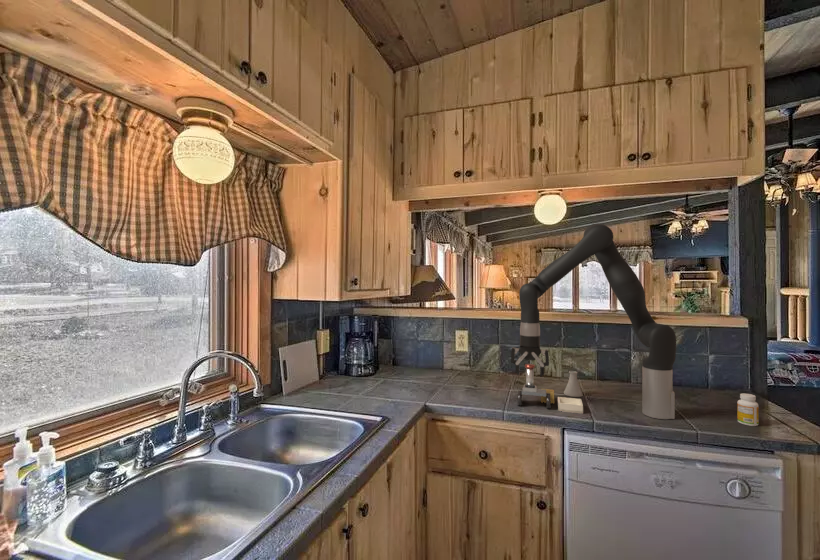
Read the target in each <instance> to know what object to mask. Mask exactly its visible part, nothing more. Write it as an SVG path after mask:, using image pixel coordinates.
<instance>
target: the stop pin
mask: <svg viewBox="0 0 820 560" xmlns="http://www.w3.org/2000/svg"><path fill="white" fill-rule="evenodd" d="M524 368H525V373H526V374H525V377H526V378H525V379H526V381H525V384H526V388H534V385H535V384H534V383H535V382H534V381H535V378H534V376H535V375H534V369H535V368H536V367H535V364H534V363H533V364H532V363H525V364H524Z"/></svg>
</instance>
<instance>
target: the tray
mask: <svg viewBox="0 0 820 560" xmlns="http://www.w3.org/2000/svg"><path fill="white" fill-rule="evenodd" d="M557 411H558V412H561V411H562V412H564V413H570V414H571V413H573V414H584V405H583V401H582V398H577V397H565V396H557Z"/></svg>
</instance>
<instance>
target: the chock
mask: <svg viewBox="0 0 820 560" xmlns="http://www.w3.org/2000/svg"><path fill="white" fill-rule="evenodd" d="M544 389H545V390H546V393H550V399H551V404H552V403H553V405H554V404H555V389H549V388H548V389H547V388H544ZM543 402H544V404H546V397H545V396H540V403H543Z"/></svg>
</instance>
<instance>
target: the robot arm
mask: <svg viewBox="0 0 820 560" xmlns="http://www.w3.org/2000/svg"><path fill="white" fill-rule="evenodd" d="M593 256H595V257H596V259H597V261H598V262H599V264H600V266H601V268H602V271H603V273H604V276H605V278H606V280H607V282H608V284H609V286H610V289H611V290H612V291H613V294H614V295H615V296H616V298H617V300H618V302H619V303H620V305H621V307H622V308H623V310H624V311H625V313H626V315H627V316H628V318H629V320H630V323H631V325H632V327H633V330H634V331H635V334H636V336H637V338H638V340H639V342H640V343H641V344H642V345H644V346H645V347H648V348H649V352H648V356H646V357H643V359H642V360H641V361H642V362H641V363H642V365H641V367H642V372H641V373H642V378H641V380H642V381H641V383H642V387H641V388H642V389H641V390H642V394H641V396H642V397H641V398H642V399H641V400H642V404H641V405H642V406H641V408H642V410H641V411H642V415H645V416H647V417H649V418H653V419H659V420H675V418H676V415H675V414H676V412H675V411H676V407H675V406H676V405H675V404H676V403H675V401H676V400H675V397H676V396H675V391H674V390H673V385H674V384H673V381H674V379H673V377H674V376H673V375H674V374H673V371H674V370H673V367H674V364H675V361H676V352H677V336H676V335H677V334H676V333H675V330H674V328H672V327H671V326H669V325H667V324H662V323H657V322H656V320H655V319H654V318H653V317H652V315H651V314H650V312H649V310H648V308H647V304H646V303H647V302H646V293H645V288H644V286H643V284H642V282H641V280H640V279H639V277H638V276H637V274H636V273H635V271H634V270H633V268H632V267H631V266H630V264H629V263H628V262H627V261H626V259H624V257H623V256H622V255H621V253H620V252H619V251H618V248H617V246H616V244H615V242H614V232H613V230H612V229H611V228H610V226H607V225H605V224H603V223H593V224H590V225H588V226H587V227H586V228H585V229H584V232H583V236H582V238H581V239H580V240H579V241H578V243H577V244H575V245H574V246H573V247H572V248H571V249H569V251H567V252H565V253H564V254H562V255H561V256H559V257H558V258H556V259H555V260H553V261H552V262H550V263H549V264H548V265H547V266H546V267H544V268H543V269H542V270H541V271H540V272H539V273H537V274H538V275H537V276H536V277H534V279H532V280H531V281H530V282H528V283H524V284H523V285H522V286H521V287H520V289H519V292H518V294H519V295H518V297H519V299H518V300H519V305H520V307H519V308H520V326H519V347H518V348H517V347H516V346H513V347H512V348H511V356H510V363H512V364H514V365H515V373H516V374H517V375H518V376H519V375H520V364H521V362H522V361H523V360H525V361H536V362H537V363H538V364H539V365H540V366H539V376H540V377H543V376H544V375H545V367H549V366H550V357H549V356H550V355H549V350H548V349H541V327H540V310H539V306H538V303H539V302H538V299H540V297H542V296H543V295H544V294H545V293H546V292H547V291H548V290H549V289H550V288H551V287H553V286H555V285H556V284H558V282H560V281H561V280H562V279H564V277H566V276H567V275H568V274H570V273H571V272H572V271H573V270H574V269H576V268H577V267H578V266H580V264H582V263H584V262H585V261H586V260H587V259H589V258H591V257H593ZM517 353H519V354H520V356H519V357H518V359H517V360H516V359H515V357H516V354H517ZM541 354H542V355H543V356H545V357H544V358H545V359H544V360H545V361H544V362H543V360H542V359H541V358H540V355H541Z"/></svg>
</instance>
